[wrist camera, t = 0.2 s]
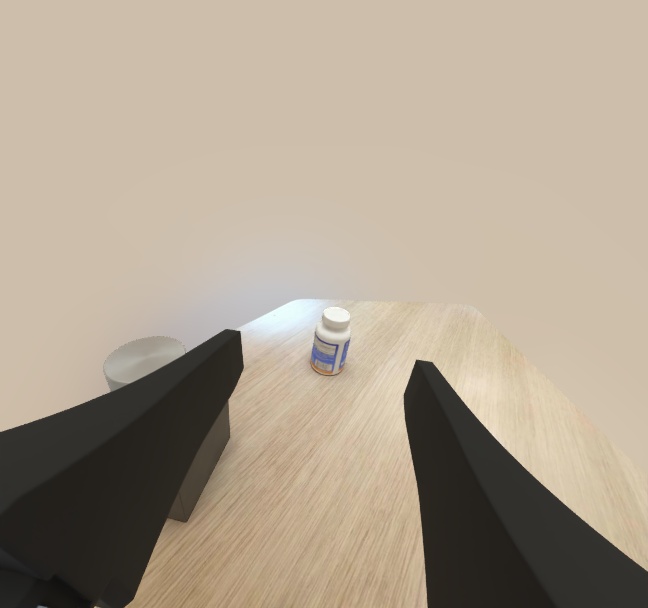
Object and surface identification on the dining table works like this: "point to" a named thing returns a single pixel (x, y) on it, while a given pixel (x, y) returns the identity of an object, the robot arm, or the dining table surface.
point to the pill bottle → (331, 341)
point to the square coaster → (201, 467)
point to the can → (140, 359)
